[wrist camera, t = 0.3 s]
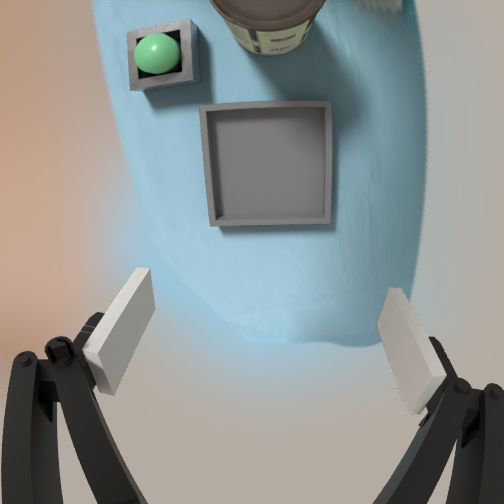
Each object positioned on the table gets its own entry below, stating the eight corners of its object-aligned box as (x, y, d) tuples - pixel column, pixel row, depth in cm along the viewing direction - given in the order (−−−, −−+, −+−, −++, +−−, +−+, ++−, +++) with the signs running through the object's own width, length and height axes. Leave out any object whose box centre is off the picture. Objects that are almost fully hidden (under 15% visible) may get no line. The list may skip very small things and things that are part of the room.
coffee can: (270, -26, 27) (268, -78, 15) (327, 25, 30) (353, -11, 18) (210, 20, 31) (180, -17, 18) (267, 71, 34) (264, 53, 21)
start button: (146, 43, 31) (133, 38, 28) (183, 35, 31) (174, 29, 27) (147, 78, 33) (135, 76, 30) (185, 71, 33) (175, 68, 29)
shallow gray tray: (203, 105, 36) (198, 105, 34) (327, 101, 35) (331, 101, 33) (213, 218, 43) (209, 226, 41) (327, 216, 42) (330, 223, 40)
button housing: (139, 37, 32) (127, 32, 28) (197, 26, 31) (189, 18, 28) (142, 91, 35) (130, 90, 32) (200, 82, 35) (193, 79, 31)
